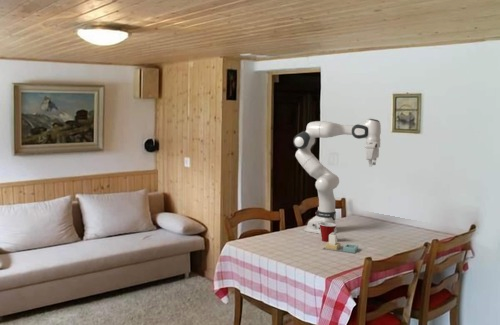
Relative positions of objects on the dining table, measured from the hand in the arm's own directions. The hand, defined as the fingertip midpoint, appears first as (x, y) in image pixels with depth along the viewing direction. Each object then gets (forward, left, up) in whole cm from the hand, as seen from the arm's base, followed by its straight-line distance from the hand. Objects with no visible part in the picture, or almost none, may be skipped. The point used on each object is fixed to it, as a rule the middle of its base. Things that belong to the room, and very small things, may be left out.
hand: (372, 165), depth 333 cm
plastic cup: (-20, -25, -47) cm, 57 cm away
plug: (-12, -39, -46) cm, 61 cm away
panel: (-6, -39, -47) cm, 61 cm away
